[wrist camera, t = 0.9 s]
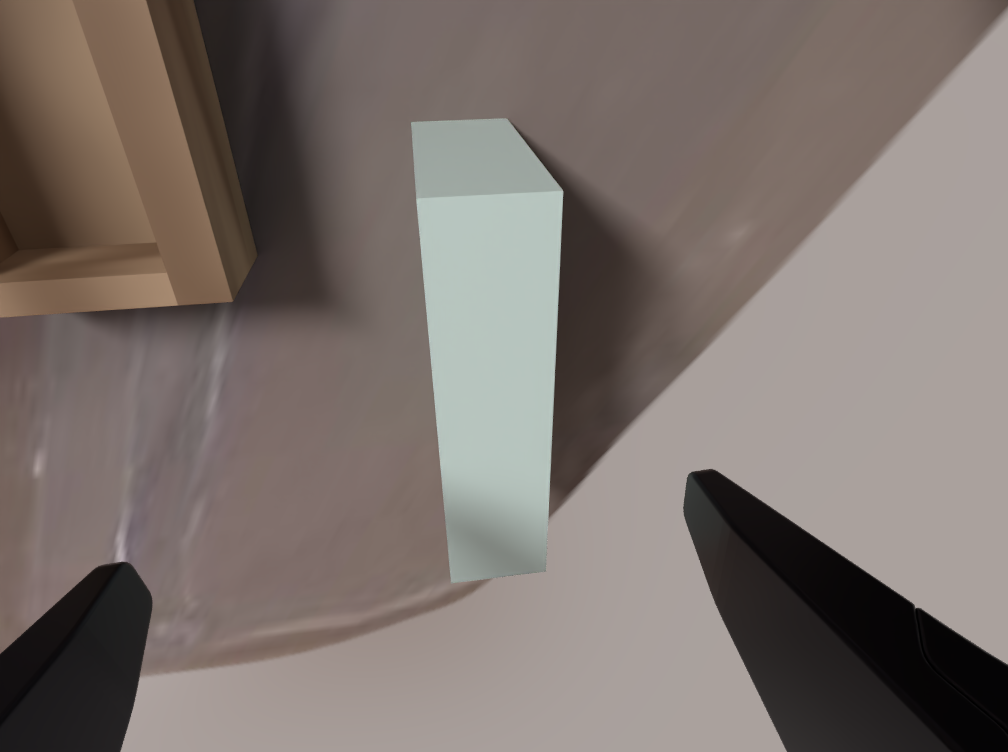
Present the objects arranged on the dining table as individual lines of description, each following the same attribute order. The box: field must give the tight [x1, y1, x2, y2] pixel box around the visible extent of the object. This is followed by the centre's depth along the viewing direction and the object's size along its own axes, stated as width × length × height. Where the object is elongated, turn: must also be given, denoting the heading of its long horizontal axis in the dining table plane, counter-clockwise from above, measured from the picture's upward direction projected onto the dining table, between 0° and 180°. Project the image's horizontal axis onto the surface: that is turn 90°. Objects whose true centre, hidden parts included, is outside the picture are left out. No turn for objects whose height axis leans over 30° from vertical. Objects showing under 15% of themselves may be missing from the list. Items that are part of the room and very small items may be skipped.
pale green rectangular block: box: [411, 119, 563, 583], centre depth 19 cm, size 3×12×8 cm, turn 1°
